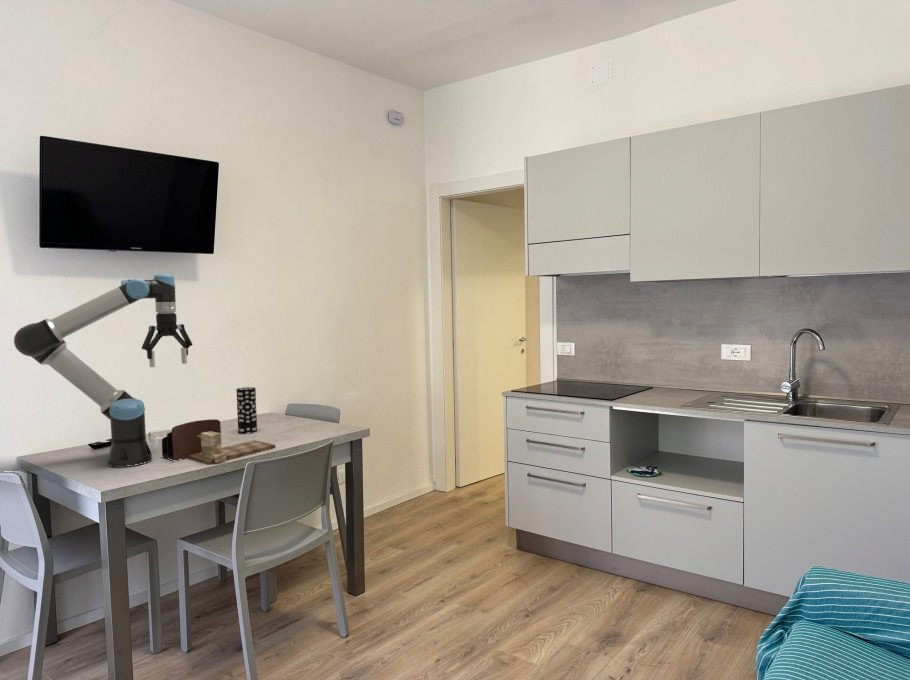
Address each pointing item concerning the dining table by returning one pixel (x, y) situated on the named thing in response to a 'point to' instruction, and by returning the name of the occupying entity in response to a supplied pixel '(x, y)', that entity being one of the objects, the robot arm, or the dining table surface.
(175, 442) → the letter holder
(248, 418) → the white-spotted black cylinder
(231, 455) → the board
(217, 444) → the gauge
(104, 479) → the dining table surface
